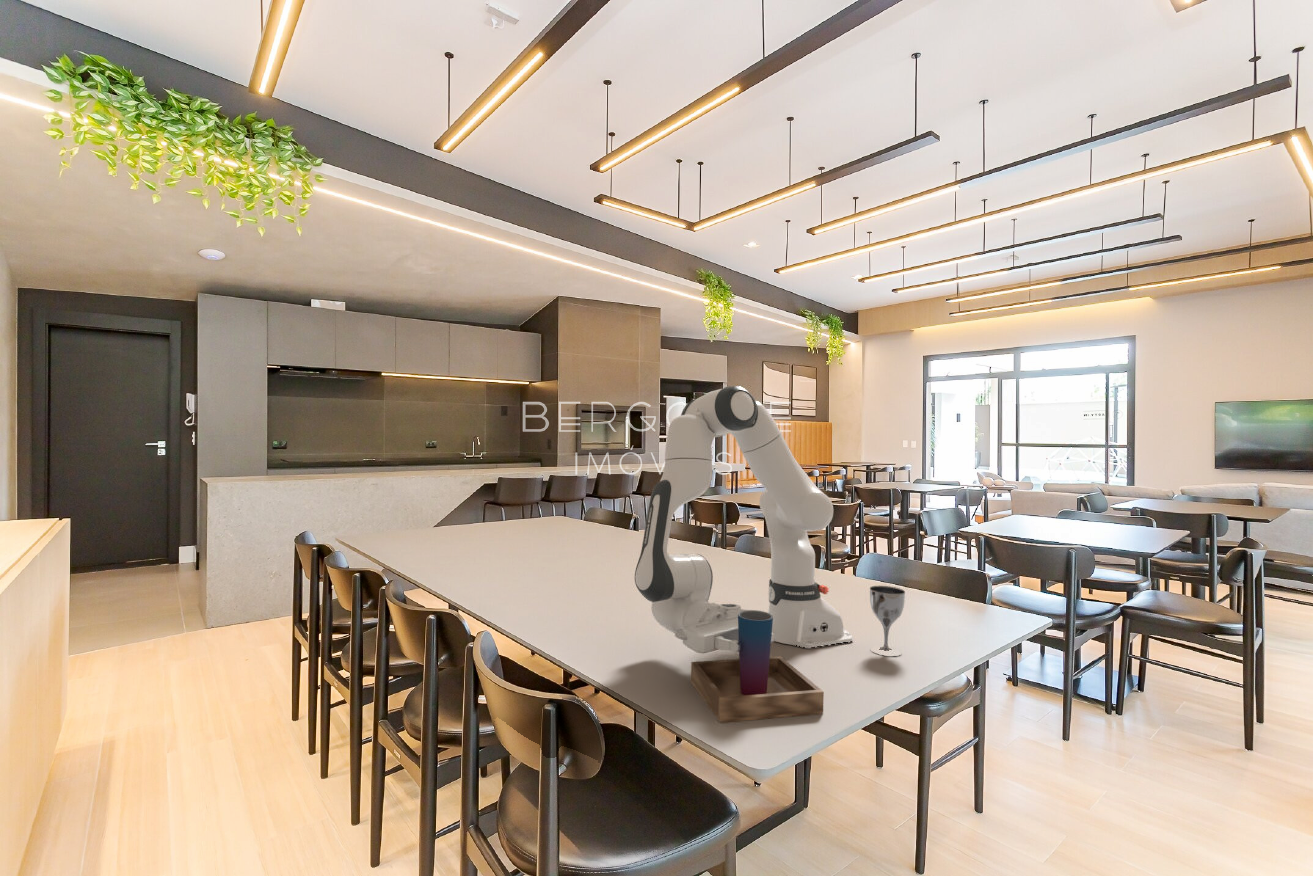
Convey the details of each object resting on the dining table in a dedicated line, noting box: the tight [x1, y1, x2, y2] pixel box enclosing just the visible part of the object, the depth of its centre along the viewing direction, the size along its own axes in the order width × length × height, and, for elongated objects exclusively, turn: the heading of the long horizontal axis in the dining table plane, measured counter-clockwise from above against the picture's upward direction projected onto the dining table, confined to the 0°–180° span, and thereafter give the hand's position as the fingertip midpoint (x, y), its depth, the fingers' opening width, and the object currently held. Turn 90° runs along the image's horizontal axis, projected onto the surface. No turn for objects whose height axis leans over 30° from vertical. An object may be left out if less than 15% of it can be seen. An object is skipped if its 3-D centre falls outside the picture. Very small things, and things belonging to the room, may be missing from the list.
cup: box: [738, 609, 773, 695], centre depth 113 cm, size 7×7×15 cm
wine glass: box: [869, 585, 906, 651], centre depth 140 cm, size 8×8×15 cm
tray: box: [690, 656, 825, 724], centre depth 113 cm, size 20×18×4 cm
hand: (755, 643), depth 113 cm, fingers open, 8 cm apart
